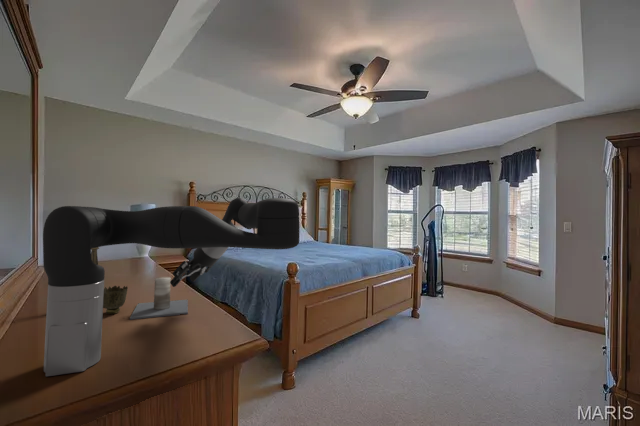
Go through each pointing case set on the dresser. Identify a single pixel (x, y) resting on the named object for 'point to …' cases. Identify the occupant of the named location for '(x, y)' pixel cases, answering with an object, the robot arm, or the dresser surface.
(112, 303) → the cup
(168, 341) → the dresser surface
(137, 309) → the slate mat
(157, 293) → the cream peg
